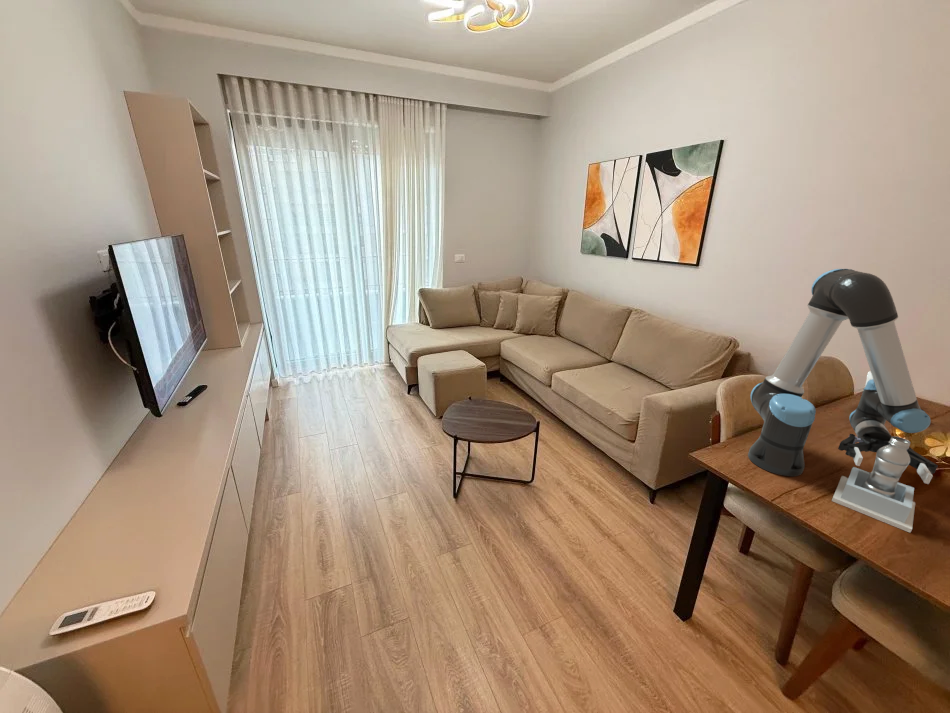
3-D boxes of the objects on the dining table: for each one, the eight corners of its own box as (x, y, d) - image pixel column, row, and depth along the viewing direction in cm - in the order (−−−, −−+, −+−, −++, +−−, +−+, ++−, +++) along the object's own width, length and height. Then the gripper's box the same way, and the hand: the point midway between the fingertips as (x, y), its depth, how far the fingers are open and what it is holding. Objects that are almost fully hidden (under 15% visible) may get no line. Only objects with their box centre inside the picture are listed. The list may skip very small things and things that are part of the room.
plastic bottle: (881, 509, 108) (909, 447, 102) (853, 494, 114) (878, 435, 108) (896, 505, 110) (925, 445, 104) (868, 490, 116) (893, 432, 110)
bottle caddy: (831, 500, 113) (838, 483, 111) (840, 478, 123) (847, 462, 121) (910, 532, 102) (919, 514, 100) (913, 505, 112) (922, 488, 110)
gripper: (925, 460, 117) (954, 499, 100) (819, 434, 130) (829, 465, 113) (936, 438, 114) (967, 475, 98) (826, 415, 127) (837, 443, 111)
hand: (893, 470), depth 105 cm, fingers open, 13 cm apart
